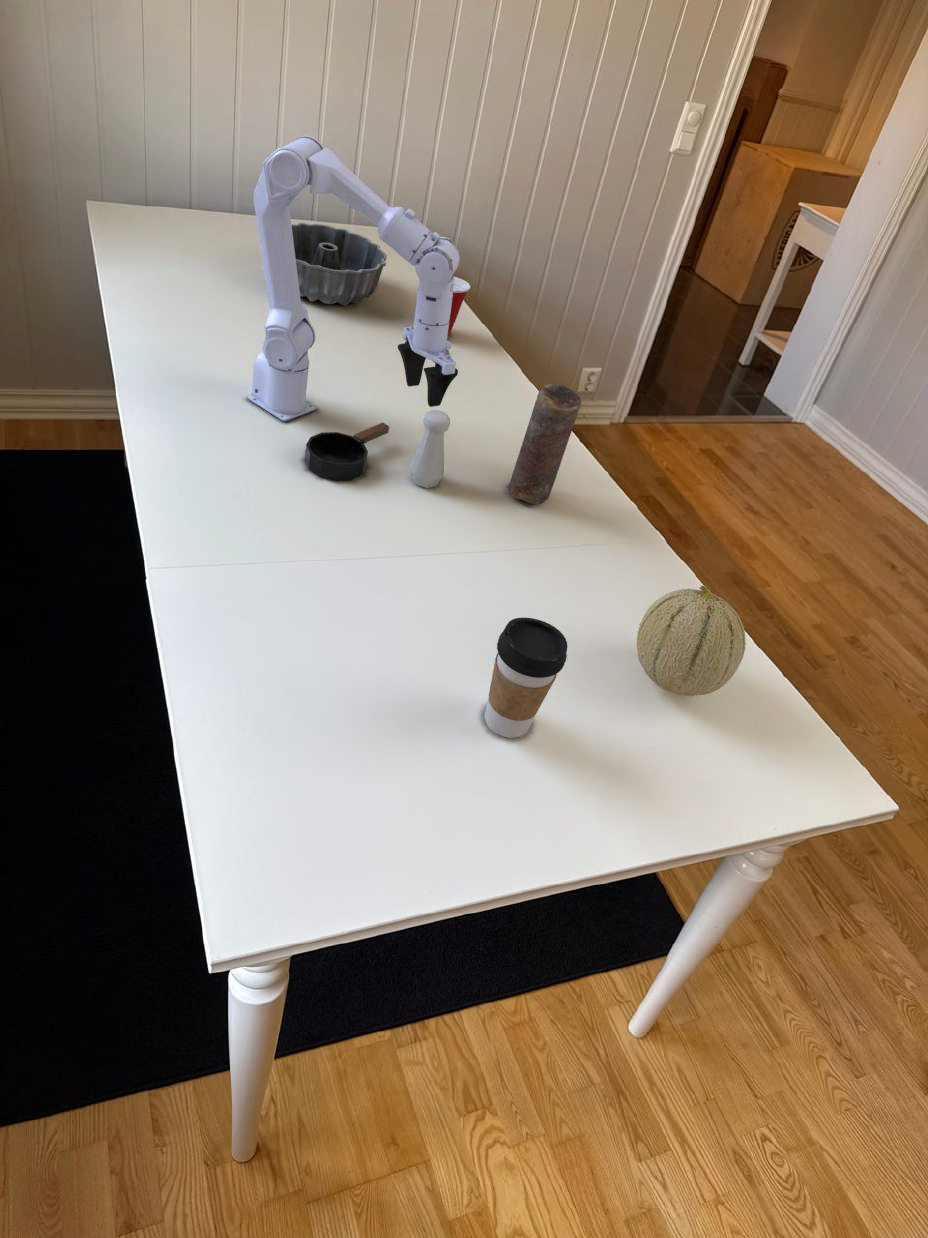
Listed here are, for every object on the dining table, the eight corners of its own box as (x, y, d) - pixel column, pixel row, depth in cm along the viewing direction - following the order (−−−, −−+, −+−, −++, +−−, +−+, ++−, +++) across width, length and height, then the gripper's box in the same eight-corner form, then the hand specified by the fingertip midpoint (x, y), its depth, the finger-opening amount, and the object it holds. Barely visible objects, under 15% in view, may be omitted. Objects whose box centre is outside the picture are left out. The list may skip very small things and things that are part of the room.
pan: (336, 487, 144) (338, 468, 141) (293, 459, 147) (294, 440, 145) (404, 455, 155) (407, 436, 153) (362, 430, 159) (365, 411, 156)
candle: (553, 494, 156) (586, 393, 143) (542, 514, 150) (576, 410, 137) (514, 479, 157) (543, 377, 144) (501, 498, 151) (530, 394, 138)
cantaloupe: (656, 725, 118) (698, 645, 108) (603, 649, 127) (638, 570, 117) (741, 707, 124) (788, 631, 114) (685, 637, 133) (724, 560, 123)
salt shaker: (436, 494, 148) (451, 427, 140) (404, 485, 148) (416, 417, 140) (444, 477, 153) (459, 411, 144) (412, 468, 153) (425, 401, 144)
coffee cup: (472, 693, 115) (498, 609, 105) (534, 699, 117) (565, 616, 107) (477, 743, 109) (505, 658, 99) (542, 748, 110) (576, 665, 101)
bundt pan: (403, 298, 207) (410, 256, 200) (332, 325, 188) (337, 279, 182) (317, 257, 215) (321, 215, 208) (240, 279, 196) (242, 233, 190)
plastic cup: (451, 323, 202) (462, 271, 194) (466, 345, 195) (477, 292, 187) (407, 320, 198) (415, 267, 190) (419, 342, 191) (429, 288, 183)
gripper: (475, 334, 141) (464, 411, 150) (431, 299, 150) (423, 373, 158) (437, 339, 137) (428, 417, 146) (394, 302, 146) (388, 378, 155)
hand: (423, 395), depth 152 cm, fingers open, 7 cm apart
